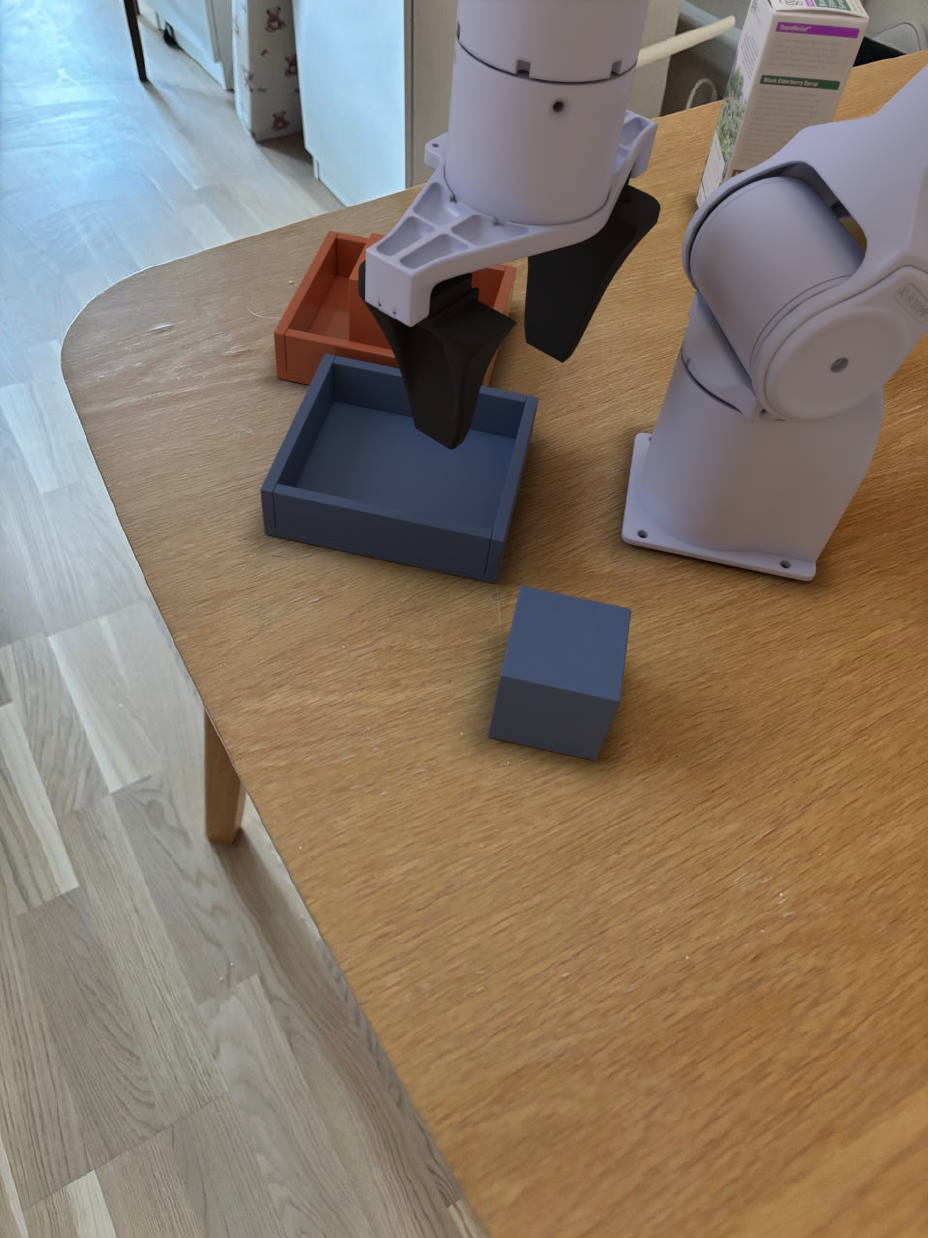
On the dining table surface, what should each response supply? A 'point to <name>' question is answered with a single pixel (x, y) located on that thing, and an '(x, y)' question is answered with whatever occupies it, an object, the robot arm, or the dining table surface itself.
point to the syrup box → (782, 81)
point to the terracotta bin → (324, 311)
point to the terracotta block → (363, 308)
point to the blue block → (561, 673)
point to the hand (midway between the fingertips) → (496, 390)
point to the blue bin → (397, 474)
